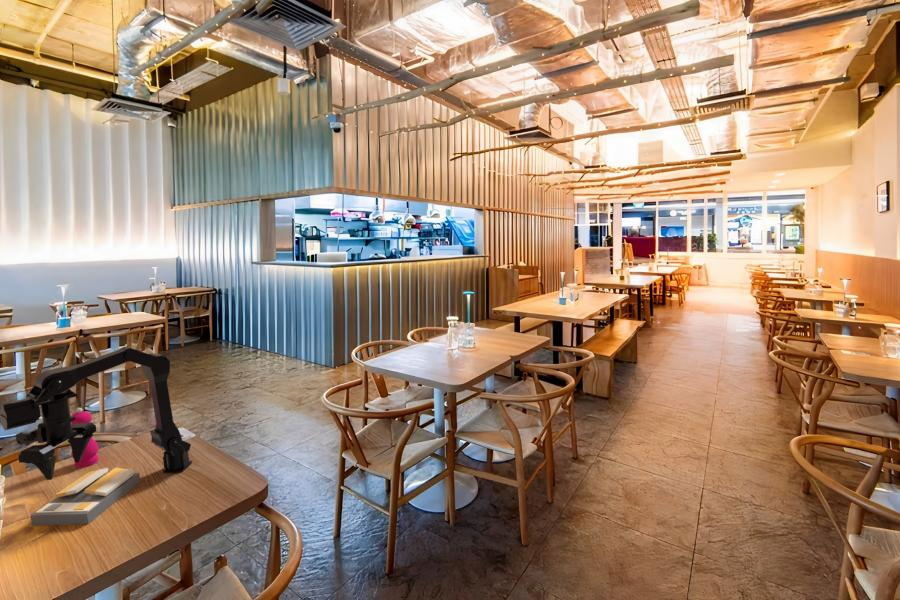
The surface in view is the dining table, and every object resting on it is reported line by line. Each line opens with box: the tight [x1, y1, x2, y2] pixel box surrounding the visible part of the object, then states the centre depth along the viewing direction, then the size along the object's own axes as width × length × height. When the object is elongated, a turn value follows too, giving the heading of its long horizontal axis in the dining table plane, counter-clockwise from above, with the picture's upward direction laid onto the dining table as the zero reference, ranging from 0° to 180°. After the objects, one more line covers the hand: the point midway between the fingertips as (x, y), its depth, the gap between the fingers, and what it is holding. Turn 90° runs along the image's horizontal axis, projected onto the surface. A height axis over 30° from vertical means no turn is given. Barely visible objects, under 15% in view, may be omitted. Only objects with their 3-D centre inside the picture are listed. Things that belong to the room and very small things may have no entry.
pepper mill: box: [71, 407, 100, 469], centre depth 149 cm, size 7×7×20 cm
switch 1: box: [55, 467, 110, 498], centre depth 130 cm, size 6×12×1 cm, turn 0°
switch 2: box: [84, 467, 136, 496], centre depth 130 cm, size 6×12×1 cm, turn 2°
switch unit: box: [30, 472, 141, 527], centre depth 127 cm, size 15×20×4 cm
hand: (64, 470), depth 120 cm, fingers open, 9 cm apart
